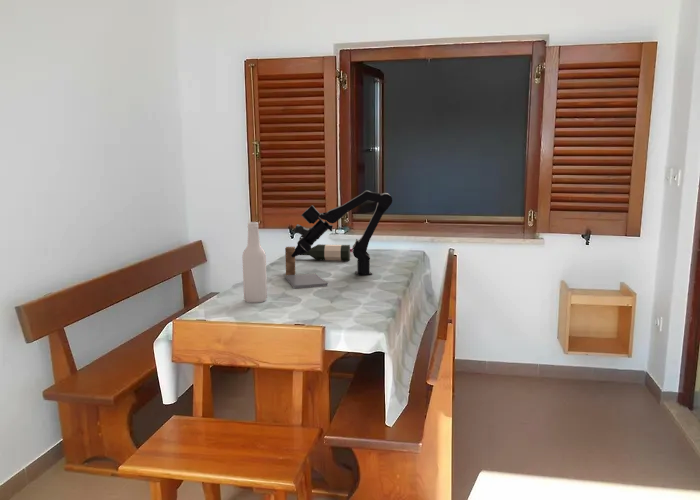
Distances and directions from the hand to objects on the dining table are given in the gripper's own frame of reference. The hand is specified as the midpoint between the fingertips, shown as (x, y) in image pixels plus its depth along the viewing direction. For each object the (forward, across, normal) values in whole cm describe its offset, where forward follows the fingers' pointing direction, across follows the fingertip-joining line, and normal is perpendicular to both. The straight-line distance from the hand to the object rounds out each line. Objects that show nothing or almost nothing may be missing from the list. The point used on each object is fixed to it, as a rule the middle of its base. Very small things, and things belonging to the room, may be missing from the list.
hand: (292, 254), depth 261 cm
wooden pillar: (+7, 0, +6) cm, 9 cm away
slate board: (+2, +15, +11) cm, 19 cm away
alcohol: (+14, +45, -1) cm, 47 cm away
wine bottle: (-15, -32, +22) cm, 42 cm away
